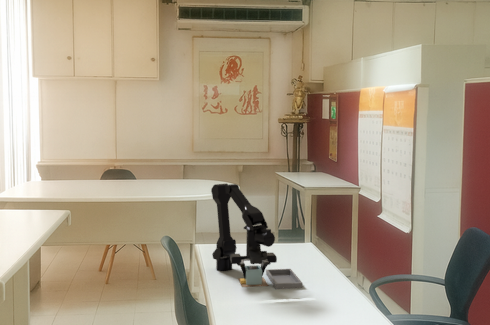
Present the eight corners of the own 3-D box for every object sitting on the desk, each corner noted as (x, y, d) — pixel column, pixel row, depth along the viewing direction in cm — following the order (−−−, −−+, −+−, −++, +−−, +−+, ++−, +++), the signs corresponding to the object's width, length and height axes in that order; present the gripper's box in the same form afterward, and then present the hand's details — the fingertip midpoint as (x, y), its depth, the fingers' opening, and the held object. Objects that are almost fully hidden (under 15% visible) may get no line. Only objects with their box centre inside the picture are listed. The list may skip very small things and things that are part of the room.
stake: (241, 289, 199) (242, 271, 199) (237, 280, 210) (238, 263, 209) (268, 288, 201) (268, 270, 200) (263, 279, 212) (263, 262, 211)
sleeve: (241, 285, 202) (241, 270, 201) (239, 280, 208) (239, 266, 207) (262, 284, 203) (262, 269, 202) (259, 279, 209) (259, 265, 209)
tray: (275, 291, 198) (275, 284, 197) (265, 276, 216) (266, 269, 216) (302, 290, 199) (302, 282, 199) (290, 275, 218) (290, 268, 218)
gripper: (233, 247, 195) (233, 285, 196) (280, 245, 198) (279, 283, 199) (229, 240, 206) (229, 277, 207) (274, 239, 209) (273, 275, 210)
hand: (252, 278), depth 205 cm, fingers closed on sleeve, 6 cm apart
